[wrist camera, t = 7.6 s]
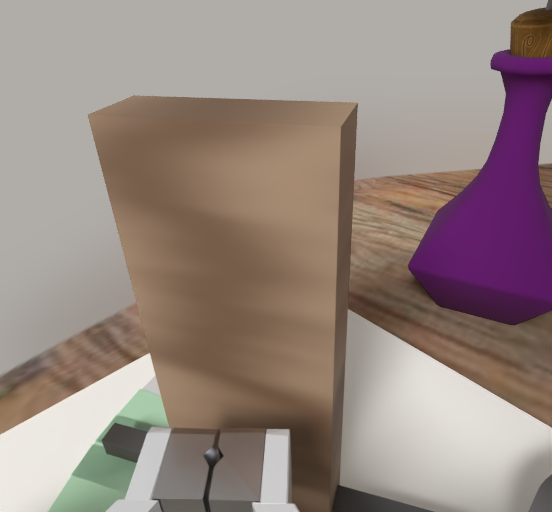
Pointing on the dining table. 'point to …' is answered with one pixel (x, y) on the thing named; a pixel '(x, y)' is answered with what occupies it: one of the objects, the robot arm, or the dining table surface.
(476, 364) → the dining table surface
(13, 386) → the dining table surface
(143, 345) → the dining table surface
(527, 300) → the perfume bottle
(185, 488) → the robot arm
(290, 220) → the lever
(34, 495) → the dial board
